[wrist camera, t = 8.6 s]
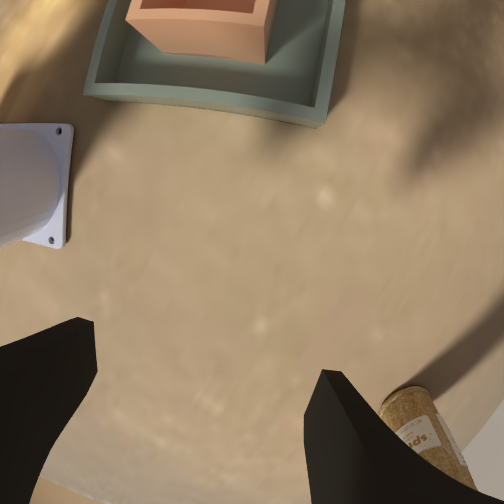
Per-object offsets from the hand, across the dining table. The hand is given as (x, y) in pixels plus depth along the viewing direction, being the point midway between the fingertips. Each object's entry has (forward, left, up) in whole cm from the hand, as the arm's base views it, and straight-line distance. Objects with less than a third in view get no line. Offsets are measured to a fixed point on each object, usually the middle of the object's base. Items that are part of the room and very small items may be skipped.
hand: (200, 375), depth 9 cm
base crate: (-3, +16, -10) cm, 19 cm away
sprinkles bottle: (+15, -9, -10) cm, 20 cm away
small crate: (-3, +16, -9) cm, 19 cm away
